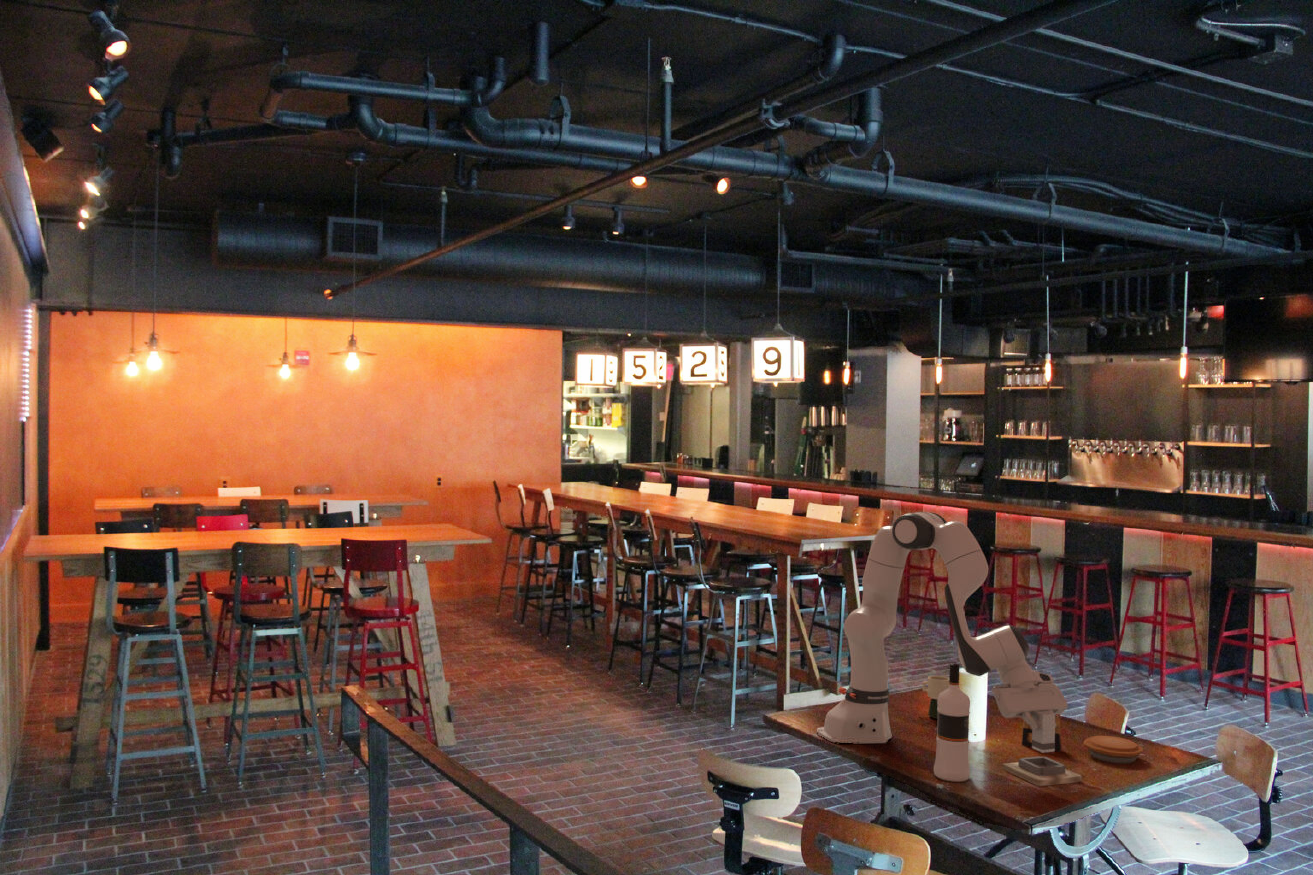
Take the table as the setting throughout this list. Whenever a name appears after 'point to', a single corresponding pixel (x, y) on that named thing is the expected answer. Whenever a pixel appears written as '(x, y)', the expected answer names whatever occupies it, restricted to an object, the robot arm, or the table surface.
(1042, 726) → the grey rectangular block
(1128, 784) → the table surface
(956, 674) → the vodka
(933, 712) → the character mug
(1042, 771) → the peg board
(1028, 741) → the ammunition clip
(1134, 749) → the pie
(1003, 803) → the table surface
